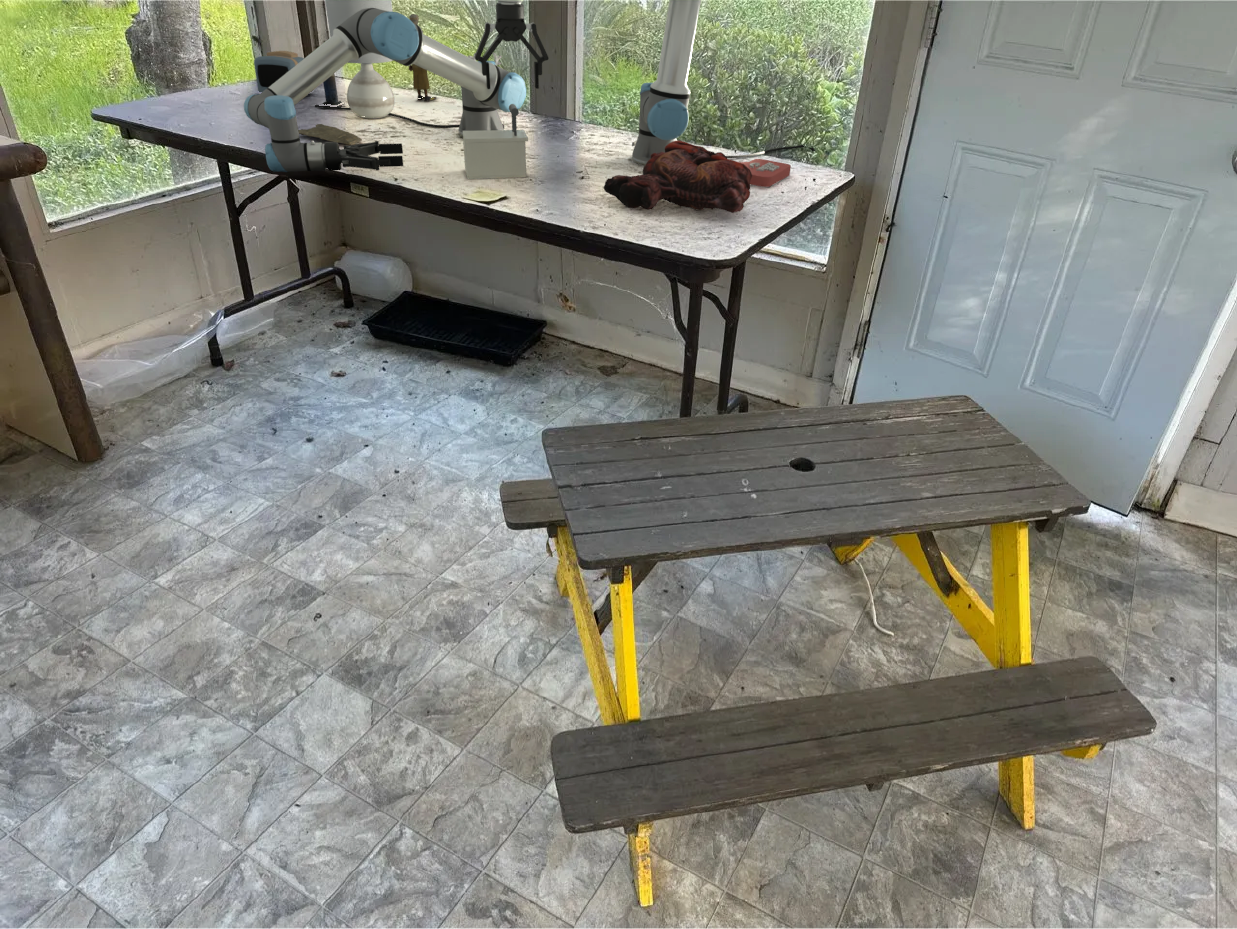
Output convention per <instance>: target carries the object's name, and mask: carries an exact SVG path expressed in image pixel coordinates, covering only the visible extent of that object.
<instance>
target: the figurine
mask: <svg viewBox="0 0 1237 929" xmlns="http://www.w3.org/2000/svg"><path fill="white" fill-rule="evenodd" d="M408 19H410V20H411V21H412V22H413V23H414V24H416V25H418V26H419V20H420V18H419V15H418V14H416V13H411V14H410V15H409V16H408ZM422 32H423V33H424V31H423V30H422ZM408 71H409V72H412V76H413V78H412V87H413V90H416V93H417V99H416V101H417V102H421V101H423V102H430V101H434V100H436V99H437V97H436V96H429V95H428V94H429V93H428V90H430V87H431V85H430V81H429V76H428V75H429V74H428V70H426V69H423V68H421V67H419V66H417V65H415V64H412V65H410V66H408ZM432 74H433V76H434V77H435V75H436V74H434V73H432ZM422 91H423V93H424V95H422ZM423 96H425V97H423ZM422 97H423V98H422ZM431 97H432V98H431ZM418 98H421V99H418Z"/></svg>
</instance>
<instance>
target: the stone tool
mask: <svg viewBox="0 0 1237 929" xmlns="http://www.w3.org/2000/svg"><path fill="white" fill-rule="evenodd" d="M298 131H299V135H300V136H306V137H309V138H317V139H320V140H321V141H326V142H337V143H338V144H342V145H347V146H348V145H357V144H359V143H361V142H362V141H363V139H362V137H358V135H355V134H354V133H351V132H349V131H347V130H343V129H339V128H338V127H336V126H329V125H326V124H323V123H317V124H315V126H314V127H310V128H307V129H306V128H305V129H303V128H301V129H298Z"/></svg>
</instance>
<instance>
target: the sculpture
mask: <svg viewBox="0 0 1237 929" xmlns="http://www.w3.org/2000/svg"><path fill="white" fill-rule="evenodd" d="M726 156H727V155H726V154H724V153H723V152H720V151H719V152H717V151H716V152H714V151H711V150H708V149H706V148H705V147H704V146H702V145H695V144H692V143H689V142H686V141H684V140H680V139H677V141H673V142H671V143H669V144H668V145H667V146H666V147H665V153H664V152H660V153H658V152H657V153H653V154H652V155H651V157H650V158H651V159H650V160H648V162H647V163H646V165H645V166H643V168H642V174H638V175H621V174H617V175H613V176H612V177H608V178H607V179H606V180H605V181H604V184H603V185H604V186H603V190H604V192H605V193H606V194H608V195H609V196H610V195H611V196H613V197H615V198H616V199H617V200H618V201H619V202H620V203H621V204H622V205H623V206H625V207H626V208H628V209H636V208H637V209H638V208H641V209H643V210H647V211H649V210H654V208H655V207H657V205H658V203H659V202H660V201H665V202H668V203H669V204H671V203H672V204H674V205H675V206H678V207H681V208H689V209H692V210H696V211H704V209H707V210H715V209H717V210H721V211H725V212H728V213H732V214H734V213H740V212H741V211H743V210H744V207H745V205H744V204H745V203H746V202H747V201H748V200H749V198H750V196H751V190H750V189H751V184H750V180H751V178H752V173H751V171H750V169H749V168H747V167H746V166H745V165H744V164H742V163H740V162H741V161H737V160H733V159H731V158H726Z"/></svg>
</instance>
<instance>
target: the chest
mask: <svg viewBox="0 0 1237 929" xmlns="http://www.w3.org/2000/svg"><path fill="white" fill-rule="evenodd" d="M526 144H527V143H526V141H518V142H469V143H465V140H464V137H463V138H462V145H463V159H464V171H465V175H466V178H467V180H481V179H483V180H484V179H513V178H514V179H515V178H517V179H518V178H527V150H526V148H527V147H526V146H527V145H526Z"/></svg>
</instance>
